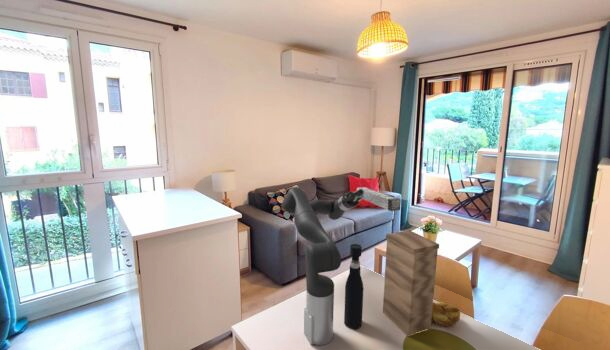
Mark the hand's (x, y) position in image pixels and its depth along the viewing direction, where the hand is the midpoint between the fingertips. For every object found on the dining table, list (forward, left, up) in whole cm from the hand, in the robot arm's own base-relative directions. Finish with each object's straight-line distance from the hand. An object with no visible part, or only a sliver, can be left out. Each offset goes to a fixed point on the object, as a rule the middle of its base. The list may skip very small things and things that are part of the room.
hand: (366, 190), depth 124 cm
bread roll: (+11, -33, -44) cm, 56 cm away
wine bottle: (-19, -23, -43) cm, 53 cm away
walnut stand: (0, -29, -43) cm, 52 cm away
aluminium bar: (0, -8, -3) cm, 8 cm away
